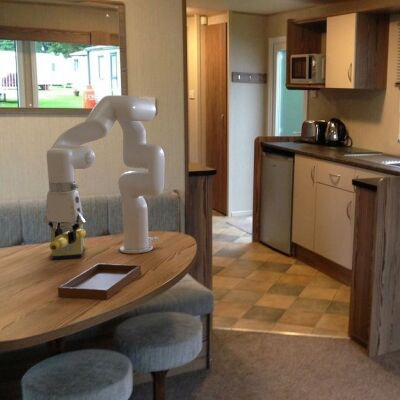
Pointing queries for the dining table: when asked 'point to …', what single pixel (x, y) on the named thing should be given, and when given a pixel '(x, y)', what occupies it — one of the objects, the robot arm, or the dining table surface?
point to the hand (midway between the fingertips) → (65, 242)
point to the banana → (65, 239)
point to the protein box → (68, 245)
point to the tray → (99, 281)
